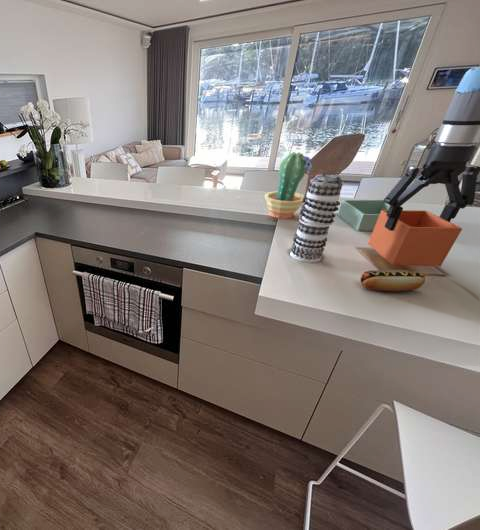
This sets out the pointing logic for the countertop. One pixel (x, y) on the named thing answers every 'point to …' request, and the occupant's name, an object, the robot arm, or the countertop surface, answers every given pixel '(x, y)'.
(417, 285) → the hot dog
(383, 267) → the wooden square board
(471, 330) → the countertop surface
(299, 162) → the potted cactus
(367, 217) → the sage bin
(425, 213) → the terracotta bin
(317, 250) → the decorative candle
